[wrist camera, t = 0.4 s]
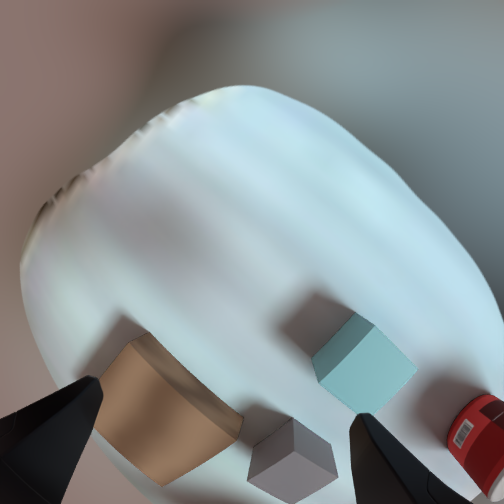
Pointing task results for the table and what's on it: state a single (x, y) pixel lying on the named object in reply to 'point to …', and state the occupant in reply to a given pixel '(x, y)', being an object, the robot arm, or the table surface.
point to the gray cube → (292, 463)
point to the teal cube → (362, 366)
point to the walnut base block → (162, 413)
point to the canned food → (481, 444)
